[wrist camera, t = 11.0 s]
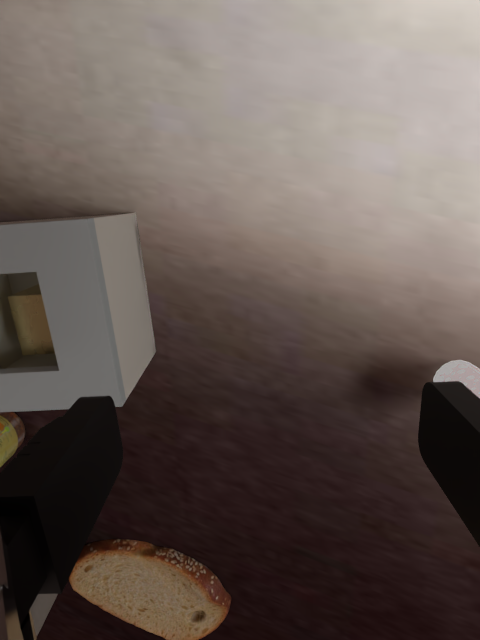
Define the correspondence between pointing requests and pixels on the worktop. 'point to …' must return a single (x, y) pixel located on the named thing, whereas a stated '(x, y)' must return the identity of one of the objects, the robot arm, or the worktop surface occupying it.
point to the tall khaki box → (31, 321)
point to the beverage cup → (460, 374)
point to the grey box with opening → (75, 310)
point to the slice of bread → (151, 588)
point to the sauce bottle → (10, 435)
